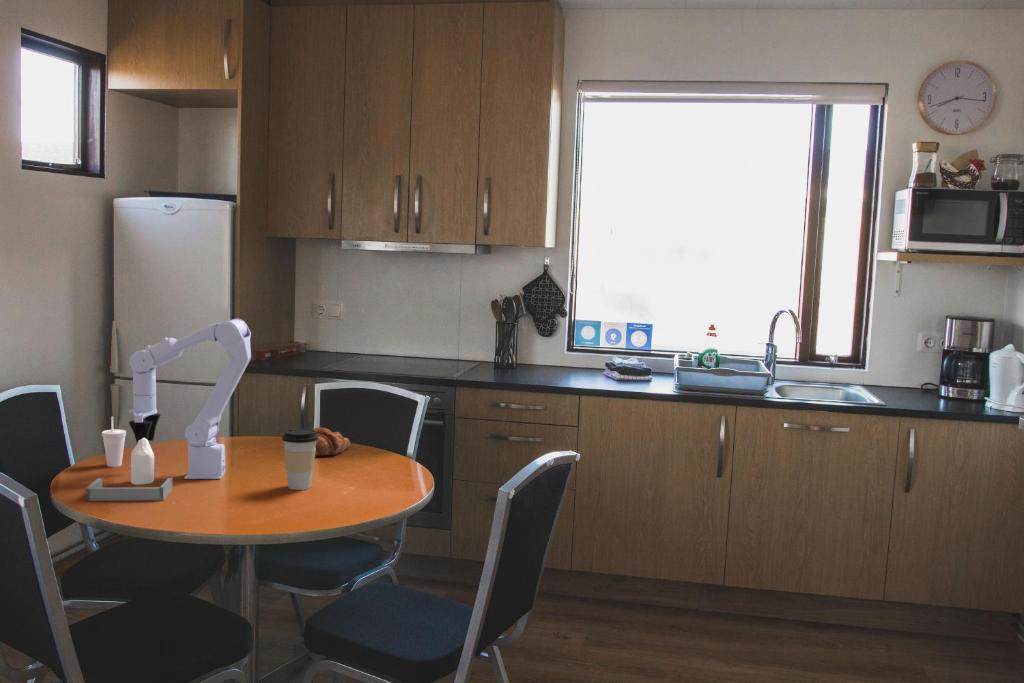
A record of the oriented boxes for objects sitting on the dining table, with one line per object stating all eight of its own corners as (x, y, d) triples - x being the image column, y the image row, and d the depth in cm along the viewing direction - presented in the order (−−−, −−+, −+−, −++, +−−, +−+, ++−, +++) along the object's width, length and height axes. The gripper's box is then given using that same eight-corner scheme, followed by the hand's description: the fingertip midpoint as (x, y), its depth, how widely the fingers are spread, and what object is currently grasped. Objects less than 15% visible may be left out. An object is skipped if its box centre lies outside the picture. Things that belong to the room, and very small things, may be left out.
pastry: (301, 446, 287) (302, 421, 286) (351, 447, 289) (351, 422, 288) (295, 459, 270) (295, 433, 270) (347, 459, 272) (347, 433, 271)
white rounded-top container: (141, 434, 242) (159, 436, 240) (141, 478, 243) (159, 480, 241) (125, 438, 236) (143, 440, 234) (126, 483, 237) (143, 485, 236)
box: (172, 489, 233) (172, 478, 233) (163, 500, 224) (163, 488, 223) (98, 489, 231) (98, 478, 230) (86, 500, 221) (85, 488, 220)
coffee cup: (279, 483, 242) (279, 428, 241) (315, 481, 246) (315, 427, 244) (283, 493, 233) (284, 435, 232) (320, 490, 237) (321, 434, 235)
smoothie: (96, 465, 254) (96, 416, 252) (116, 461, 259) (115, 413, 258) (112, 469, 251) (111, 419, 249) (131, 464, 256) (131, 416, 255)
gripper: (136, 389, 251) (136, 437, 253) (121, 398, 237) (122, 449, 239) (162, 389, 252) (163, 437, 254) (150, 398, 238) (151, 449, 240)
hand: (145, 443), depth 246 cm, fingers open, 7 cm apart
